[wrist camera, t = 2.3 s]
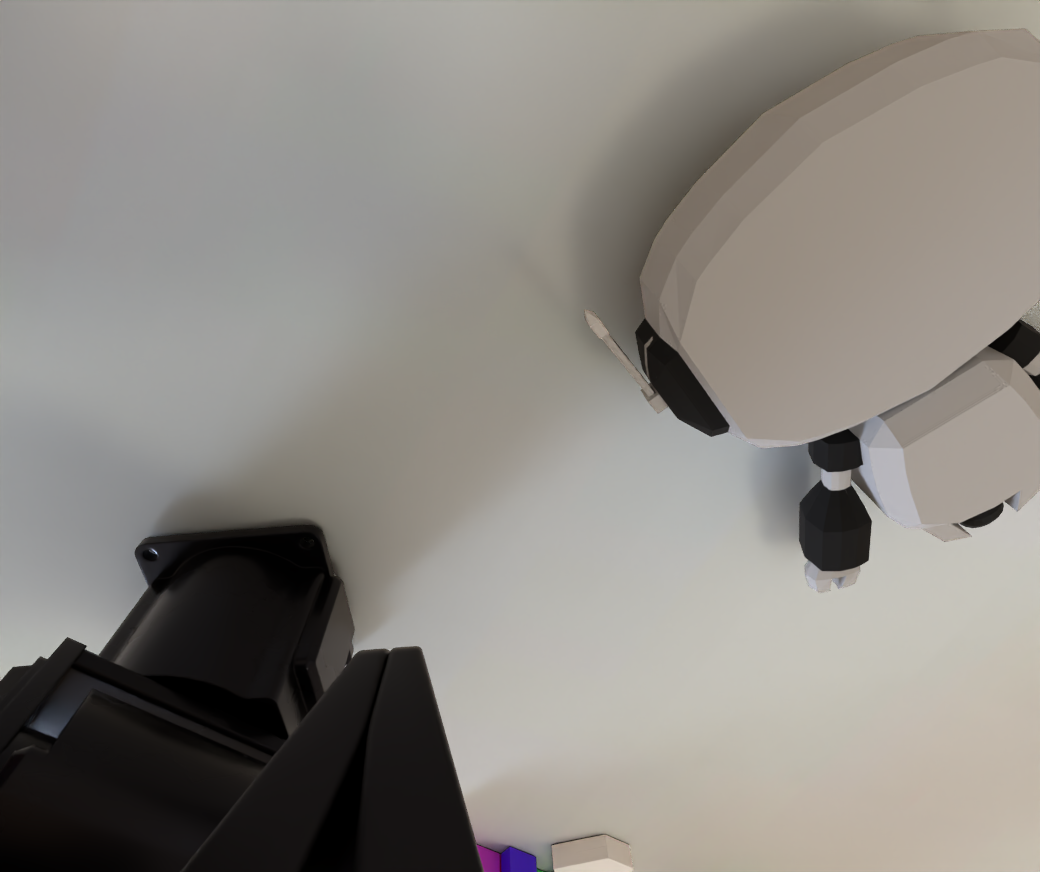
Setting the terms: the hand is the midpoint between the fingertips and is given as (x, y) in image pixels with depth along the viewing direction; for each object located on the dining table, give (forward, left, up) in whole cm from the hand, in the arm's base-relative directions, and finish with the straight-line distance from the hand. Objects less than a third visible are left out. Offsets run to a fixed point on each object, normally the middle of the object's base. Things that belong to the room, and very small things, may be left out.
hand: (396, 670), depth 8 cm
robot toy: (+13, 0, -13) cm, 18 cm away
